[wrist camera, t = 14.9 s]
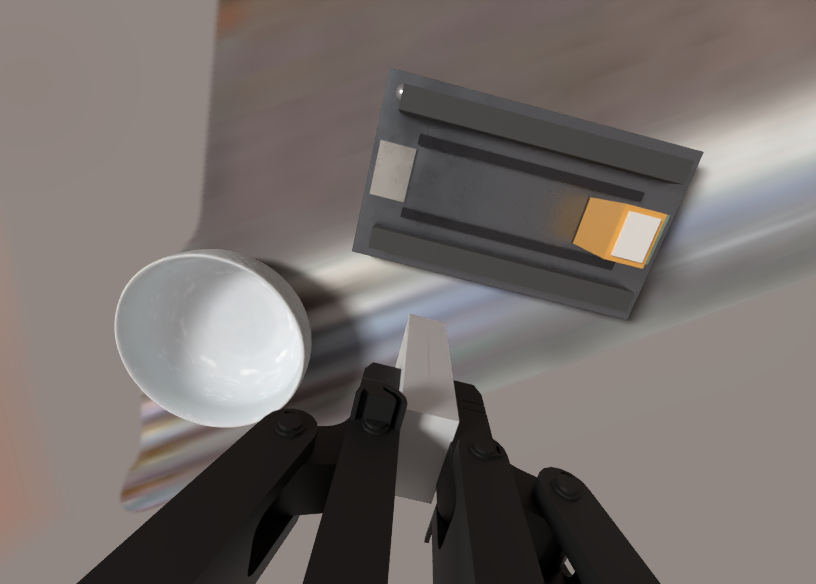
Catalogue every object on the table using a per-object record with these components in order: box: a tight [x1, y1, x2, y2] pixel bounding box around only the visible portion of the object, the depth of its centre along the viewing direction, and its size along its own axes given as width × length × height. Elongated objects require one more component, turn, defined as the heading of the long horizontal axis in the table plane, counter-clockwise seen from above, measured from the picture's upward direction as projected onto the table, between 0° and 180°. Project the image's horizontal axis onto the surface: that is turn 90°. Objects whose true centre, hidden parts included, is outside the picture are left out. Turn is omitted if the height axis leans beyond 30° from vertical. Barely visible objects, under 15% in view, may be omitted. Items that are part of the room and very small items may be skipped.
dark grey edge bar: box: [368, 224, 635, 312], centre depth 34 cm, size 2×23×2 cm, turn 76°
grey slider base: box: [352, 68, 703, 320], centre depth 34 cm, size 15×26×4 cm, turn 76°
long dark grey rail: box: [398, 83, 694, 185], centre depth 31 cm, size 2×23×2 cm, turn 76°
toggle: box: [573, 197, 667, 269], centre depth 30 cm, size 4×3×6 cm
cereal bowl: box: [115, 249, 312, 427], centre depth 37 cm, size 17×17×7 cm
